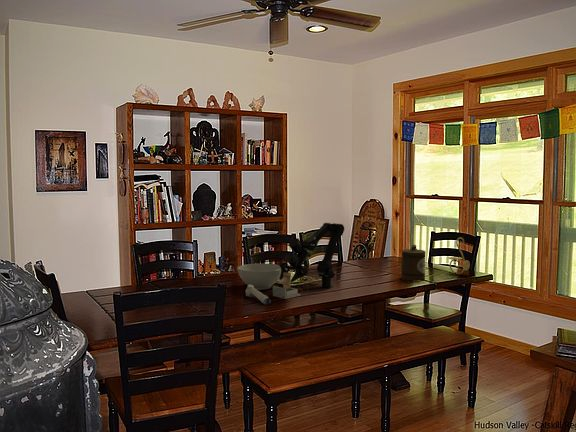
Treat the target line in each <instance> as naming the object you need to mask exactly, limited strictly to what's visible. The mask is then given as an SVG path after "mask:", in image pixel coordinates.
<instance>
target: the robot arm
mask: <svg viewBox="0 0 576 432" xmlns="http://www.w3.org/2000/svg"><path fill="white" fill-rule="evenodd" d="M328 232H329V235H330V236H329V240H328V243H327V245H326V250H325V253H324V255H323V259H322V260H319V261H318V262H317V265H316V271H317V275H318V277H321V285H320V286H319V288H322V289H331V288H333V287H334V285H332V279H333V278H335V276H336V273H335V271H333V264H332V260H333V257H334V254H335V252H336V251H335V250H336V247H337V245H338V241H339V239H340V238H341V237H342V236H343V234H344V232H345V227H344V224H342V223H334V222H333V223H331V222H324V223H323V224H322V226H320V228H318V230H317V231H315V232H314V233H313V234H312V235H311V236H309V237H306V239H304V240H302V242H301V240H300V239H299V237H296V238H295V239H292V240H291V241H289V242H288V243H289V244H288V247H289V248H290V250H292V251H293V252H294V254H293V255H290V254H289V255H288V254H285V256H284V260H283V261H280V262H279V264H278V265H279V266H280V268H281V274H280V277H279V279H278V280H282V279H283V273H285V272H290V271H295V272H294V274H293V276H292V278H291V283H293V282H295V281H297V280H299V279H301V278H302V277H305V276H307V275H308V274H309V270H308V269H307V267H305V266H304V265H305V260H306V259H308V258H311V257H312V255H311V251H312V252H313V251H314V250H315V249H316V248H317V246H318V243H319V241H320V240H322V238H324V237H325V235H326V234H328ZM309 251H310V252H309ZM295 254H296V255H295Z"/></svg>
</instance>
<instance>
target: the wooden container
mask: <svg viewBox="0 0 576 432" xmlns="http://www.w3.org/2000/svg"><path fill="white" fill-rule="evenodd" d="M410 247H411V248H408V249H407V248H406V249H402V252H401V279H402V280H404V279H407V280H406V281H409V280H421V281H423V280H422V279H424V280H426V255H427V254H426V250H424V249H417V245H416V244H412V245H410Z"/></svg>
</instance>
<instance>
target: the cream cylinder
mask: <svg viewBox="0 0 576 432" xmlns="http://www.w3.org/2000/svg"><path fill="white" fill-rule="evenodd" d="M291 276H292V275H291V272H290V271H288V272H285V273H283V278H282V279H283V281H282V283H283V285H282V286H283V287H282V288H285V289H286V291H290V290H291V288H292V287H291V283H292V282H291V279H292V278H291Z"/></svg>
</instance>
